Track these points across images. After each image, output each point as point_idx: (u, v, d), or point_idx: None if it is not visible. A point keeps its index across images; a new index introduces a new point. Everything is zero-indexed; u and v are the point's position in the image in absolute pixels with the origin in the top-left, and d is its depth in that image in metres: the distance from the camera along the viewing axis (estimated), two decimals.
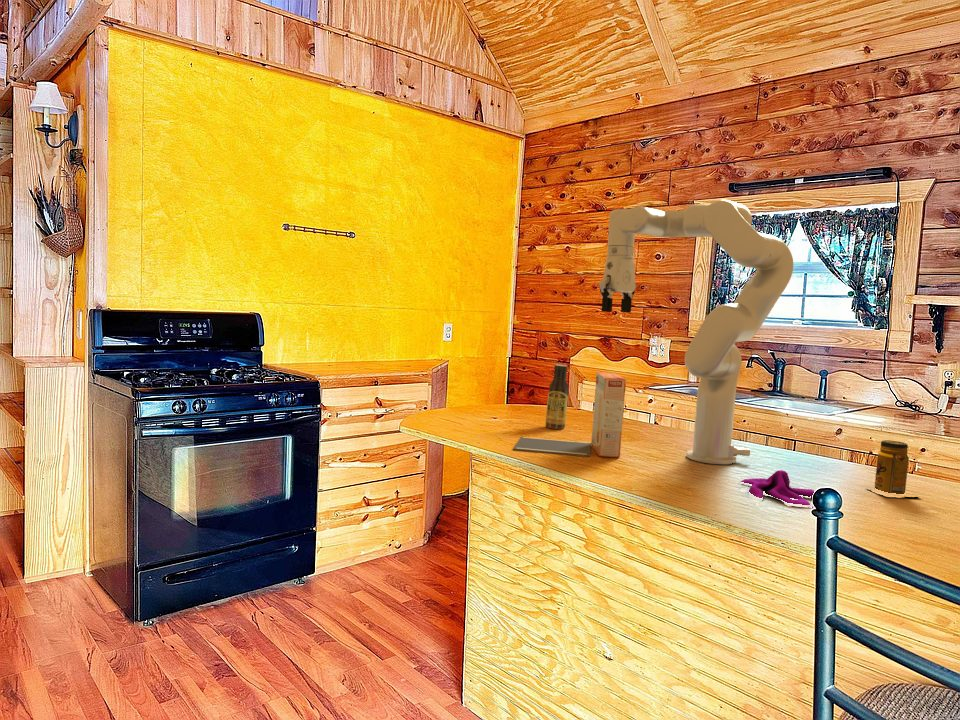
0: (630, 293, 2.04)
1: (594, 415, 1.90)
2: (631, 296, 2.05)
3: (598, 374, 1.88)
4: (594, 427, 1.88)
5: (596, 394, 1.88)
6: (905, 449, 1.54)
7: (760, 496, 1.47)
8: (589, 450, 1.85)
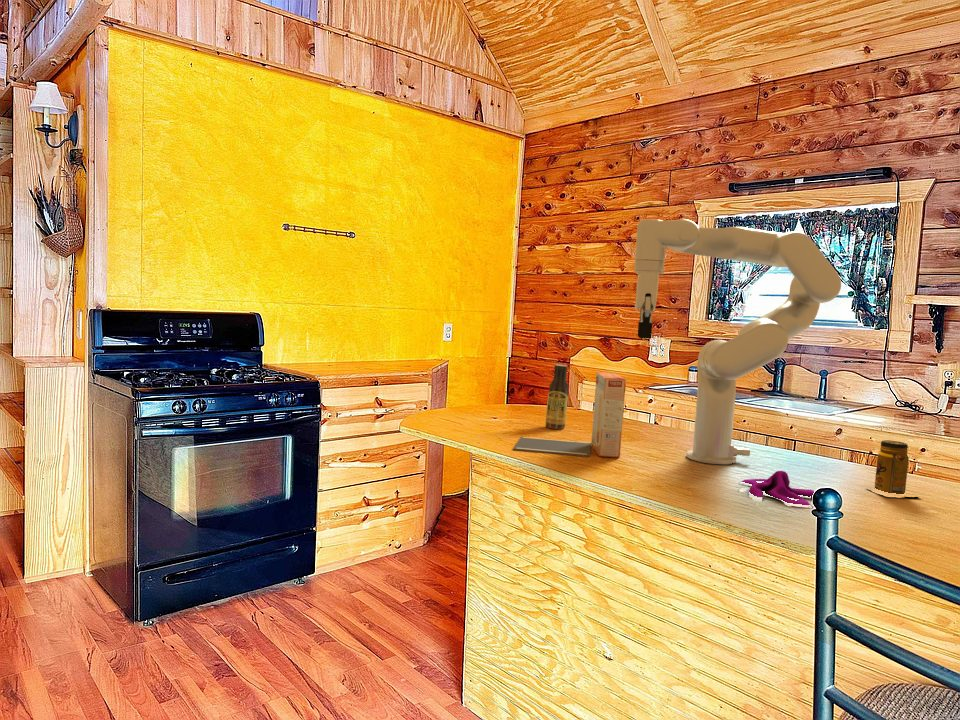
0: (641, 315, 1.78)
1: (594, 415, 1.90)
2: (640, 319, 1.78)
3: (598, 374, 1.88)
4: (594, 427, 1.88)
5: (596, 394, 1.88)
6: (905, 449, 1.54)
7: (760, 496, 1.47)
8: (589, 450, 1.85)
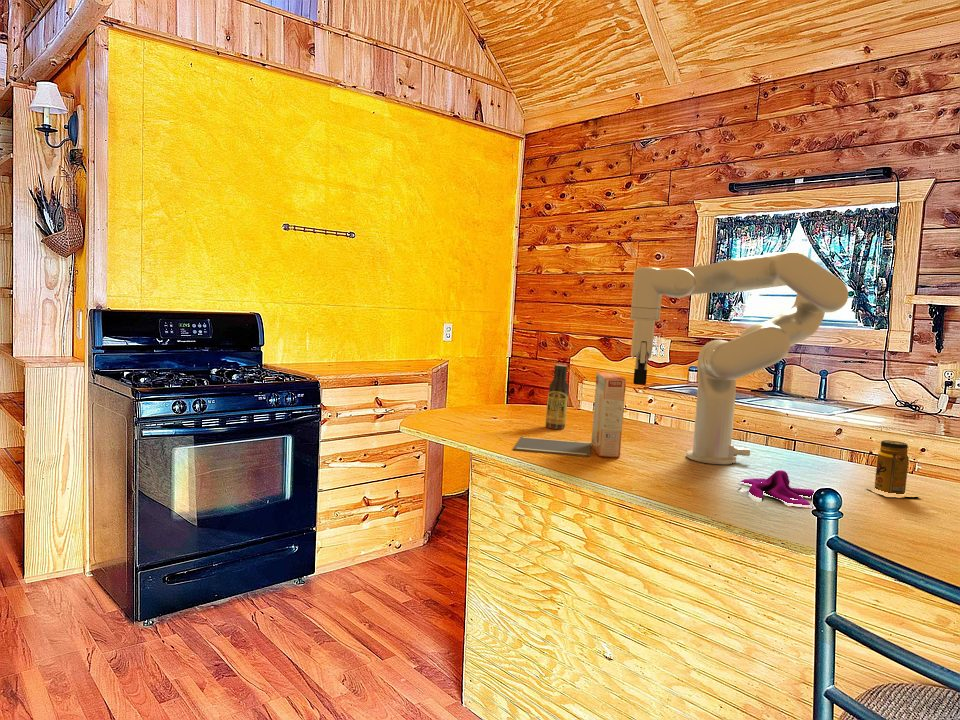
0: (636, 362, 1.81)
1: (594, 415, 1.90)
2: (636, 366, 1.82)
3: (598, 374, 1.88)
4: (594, 427, 1.88)
5: (596, 394, 1.88)
6: (905, 449, 1.54)
7: (760, 496, 1.47)
8: (589, 450, 1.85)
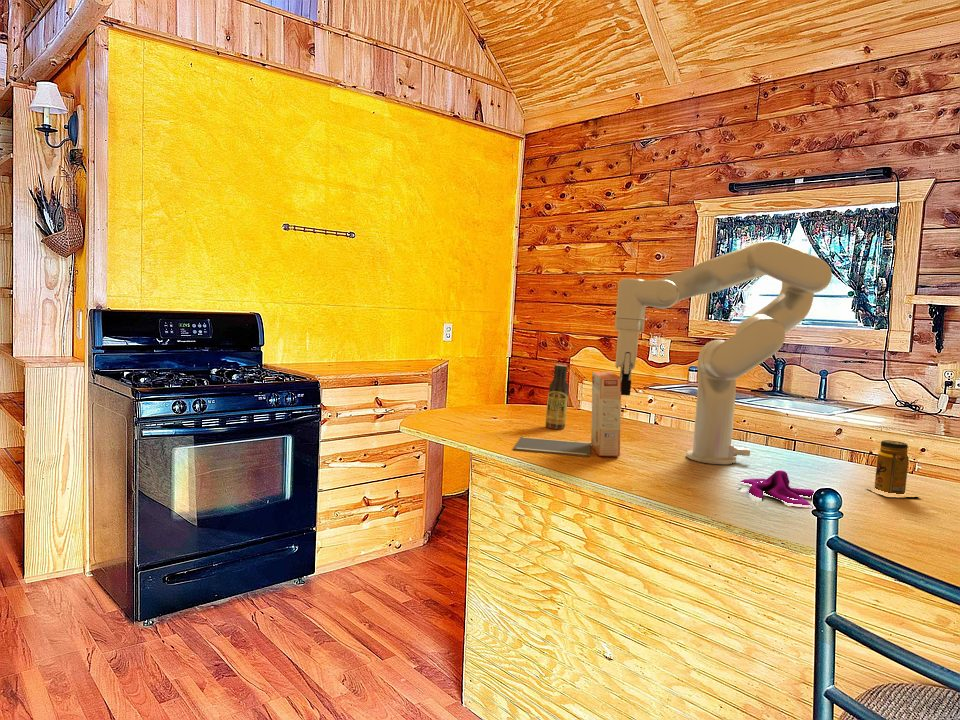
0: (620, 372, 1.82)
1: (592, 415, 1.90)
2: (620, 376, 1.83)
3: (594, 374, 1.88)
4: (593, 427, 1.88)
5: (593, 394, 1.88)
6: (905, 449, 1.54)
7: (760, 496, 1.47)
8: (589, 450, 1.85)
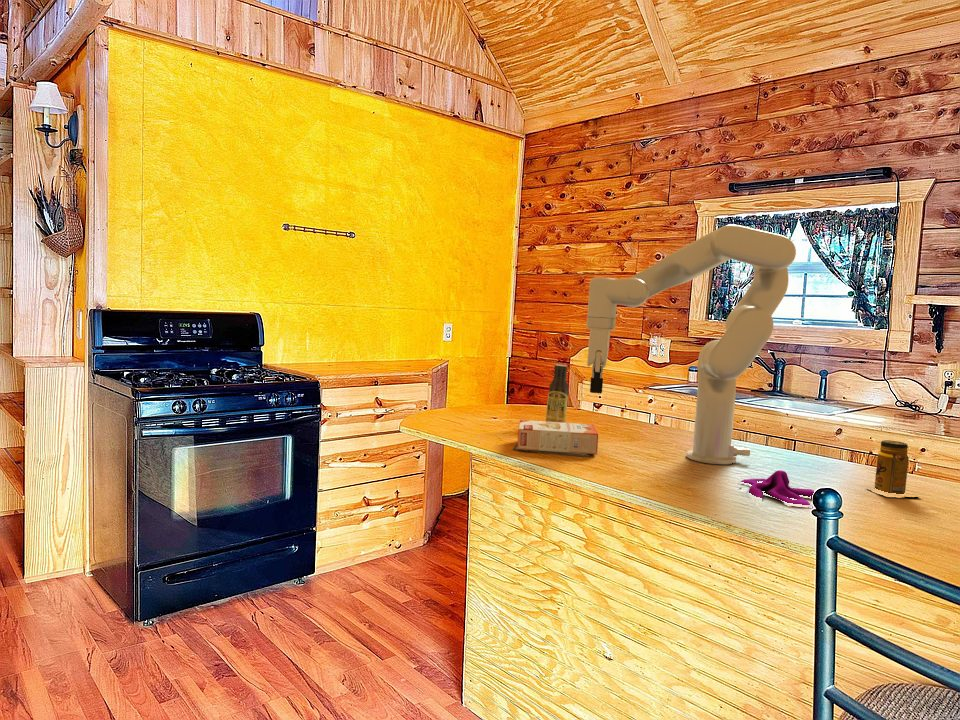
0: (592, 370, 1.84)
1: None
2: (592, 375, 1.84)
3: None
4: None
5: None
6: (905, 449, 1.54)
7: (760, 496, 1.47)
8: None
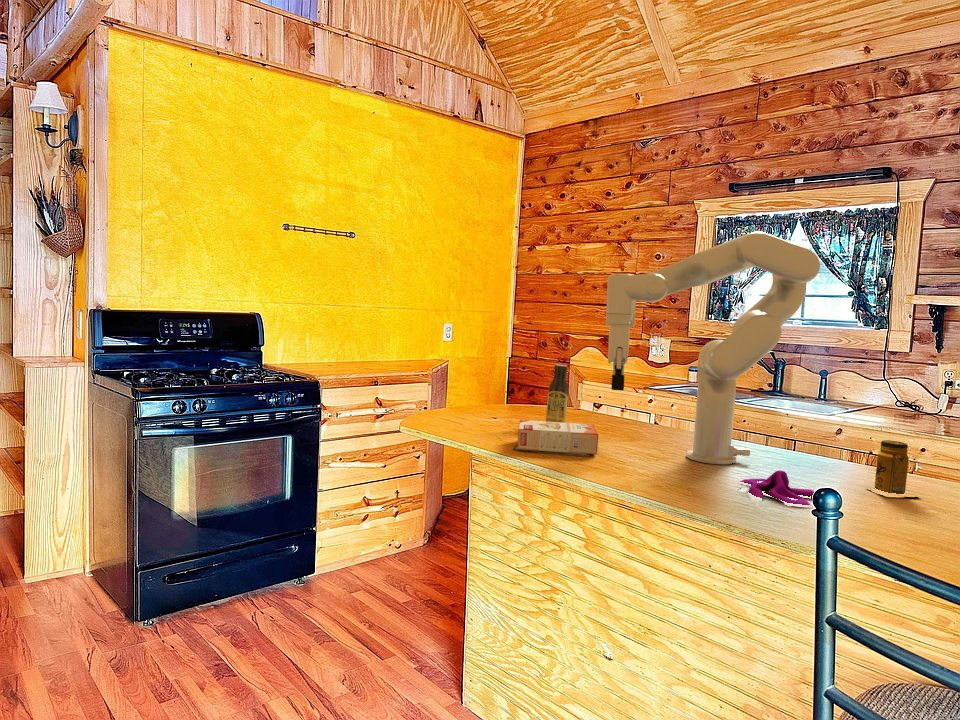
0: (613, 367, 1.83)
1: None
2: (613, 372, 1.83)
3: None
4: None
5: None
6: (905, 449, 1.54)
7: (760, 496, 1.47)
8: None
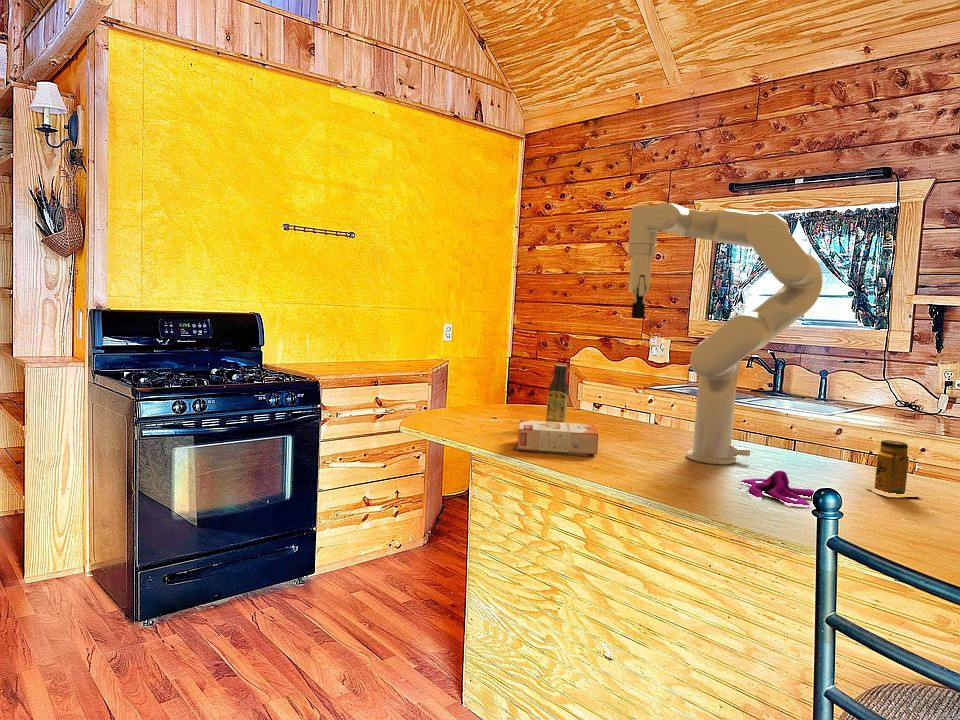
0: (634, 296, 1.91)
1: None
2: (634, 300, 1.91)
3: None
4: None
5: None
6: (905, 449, 1.54)
7: None
8: None
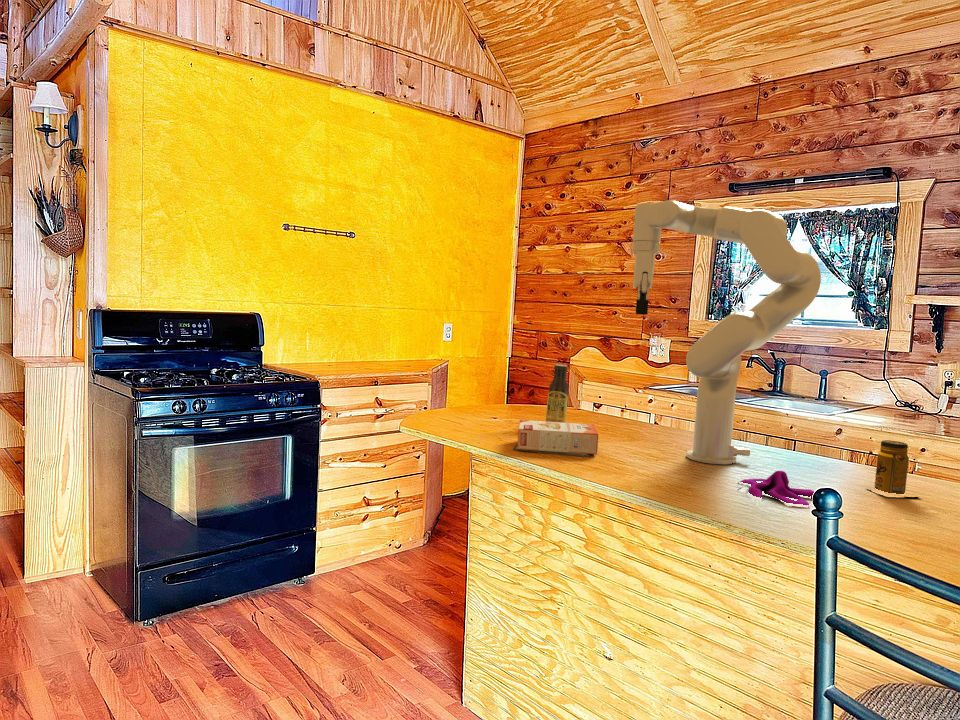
0: (638, 292, 1.93)
1: None
2: (638, 297, 1.94)
3: None
4: None
5: None
6: (905, 449, 1.54)
7: (759, 496, 1.47)
8: None
